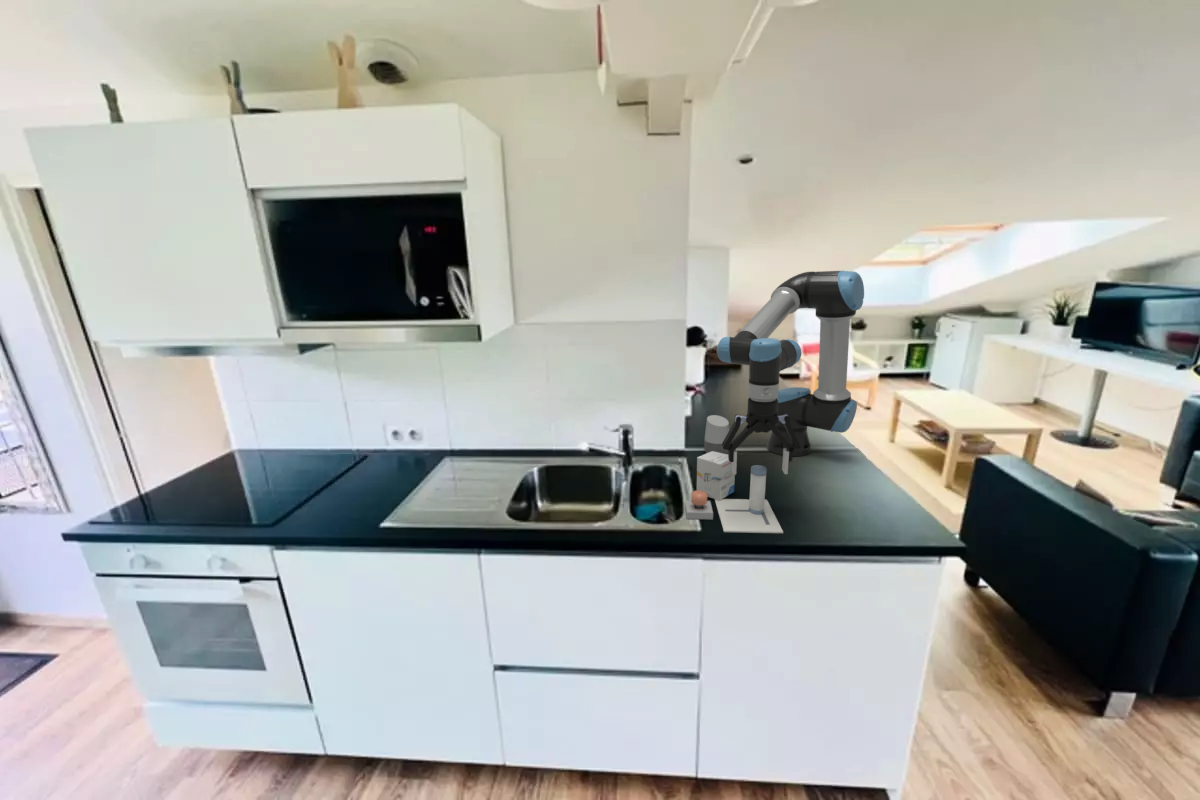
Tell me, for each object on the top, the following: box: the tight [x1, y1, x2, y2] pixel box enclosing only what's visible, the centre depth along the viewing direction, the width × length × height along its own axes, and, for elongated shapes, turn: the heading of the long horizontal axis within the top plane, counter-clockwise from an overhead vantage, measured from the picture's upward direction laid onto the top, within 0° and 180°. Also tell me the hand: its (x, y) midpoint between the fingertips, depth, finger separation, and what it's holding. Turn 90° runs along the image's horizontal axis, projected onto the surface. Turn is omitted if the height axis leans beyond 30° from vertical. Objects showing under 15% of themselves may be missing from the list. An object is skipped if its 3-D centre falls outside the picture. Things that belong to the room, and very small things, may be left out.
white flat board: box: [714, 498, 784, 534], centre depth 134 cm, size 18×15×1 cm
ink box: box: [696, 451, 736, 500], centre depth 147 cm, size 9×8×12 cm
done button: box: [690, 489, 708, 509], centre depth 136 cm, size 4×4×4 cm
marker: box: [749, 464, 768, 514], centre depth 134 cm, size 4×4×13 cm
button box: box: [684, 500, 714, 520], centre depth 136 cm, size 7×7×2 cm
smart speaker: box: [703, 414, 730, 455], centre depth 177 cm, size 10×9×14 cm
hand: (759, 472), depth 133 cm, fingers open, 13 cm apart
